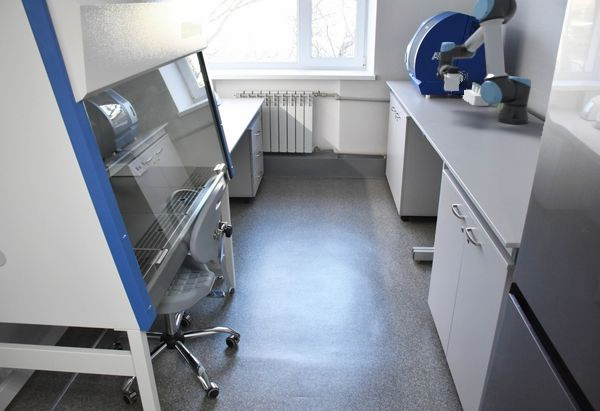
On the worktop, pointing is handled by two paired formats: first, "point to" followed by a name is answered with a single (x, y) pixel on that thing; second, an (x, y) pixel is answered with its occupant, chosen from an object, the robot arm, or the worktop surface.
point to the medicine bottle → (452, 79)
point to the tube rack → (474, 96)
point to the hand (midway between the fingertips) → (453, 78)
